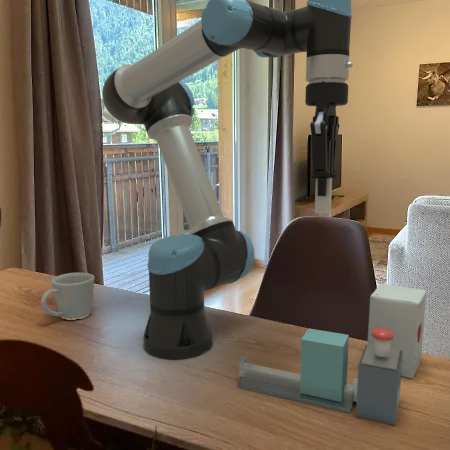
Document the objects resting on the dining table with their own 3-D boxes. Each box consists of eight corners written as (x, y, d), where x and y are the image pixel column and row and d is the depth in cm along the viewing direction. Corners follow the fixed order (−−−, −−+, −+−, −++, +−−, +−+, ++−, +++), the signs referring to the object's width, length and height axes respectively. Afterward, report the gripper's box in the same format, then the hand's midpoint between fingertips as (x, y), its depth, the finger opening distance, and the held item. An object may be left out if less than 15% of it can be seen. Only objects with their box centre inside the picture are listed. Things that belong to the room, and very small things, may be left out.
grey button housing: (356, 416, 75) (358, 363, 74) (363, 392, 82) (365, 342, 81) (395, 425, 73) (398, 370, 71) (399, 399, 80) (402, 349, 78)
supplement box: (413, 380, 86) (419, 303, 84) (365, 368, 91) (368, 295, 88) (422, 360, 94) (427, 289, 91) (377, 350, 99) (380, 282, 96)
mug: (105, 312, 121) (103, 275, 119) (57, 333, 109) (54, 292, 107) (78, 305, 127) (75, 270, 125) (29, 324, 114) (26, 285, 112)
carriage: (300, 393, 80) (301, 339, 79) (307, 380, 85) (308, 328, 83) (341, 402, 78) (343, 346, 76) (346, 388, 82) (348, 334, 80)
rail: (233, 386, 85) (233, 366, 84) (247, 369, 91) (247, 350, 90) (355, 414, 76) (356, 392, 75) (361, 393, 82) (362, 372, 81)
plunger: (369, 355, 75) (370, 333, 74) (372, 347, 78) (373, 325, 77) (391, 359, 74) (392, 337, 73) (393, 350, 77) (394, 329, 76)
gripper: (341, 77, 76) (335, 219, 81) (354, 85, 88) (349, 209, 92) (296, 80, 79) (293, 217, 84) (315, 87, 91) (311, 206, 95)
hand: (322, 212), depth 88 cm, fingers closed
